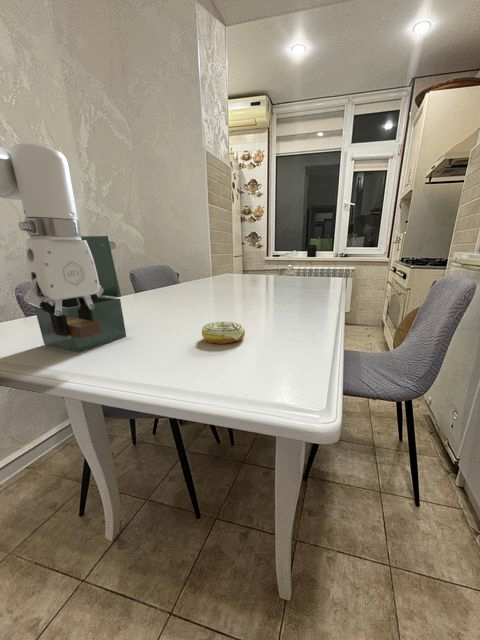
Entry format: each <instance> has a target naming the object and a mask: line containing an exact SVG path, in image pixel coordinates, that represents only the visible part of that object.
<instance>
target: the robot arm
mask: <svg viewBox="0 0 480 640" xmlns="http://www.w3.org/2000/svg"><path fill="white" fill-rule="evenodd" d="M0 198H2V199H7V200H14V201H15V200H17V201H21V205H22V210H23V213H24V221H18V222H17V223H18V224H17V225H18V229H19V230H20V231H23V232H26V233H27V235H28V236H29V238H26V239H25V257H26V258H25V259H26V266H27V273H28V278H29V283H30V285H29V287H28V290H27V291H26V293H25V295H24V298H23V301H24V302H25V303H26V304H29V305H31V306H33V307H34V306H36V307H38V308H40V309H41V310H43V311H45V312H46V313H47V314H50V318H51V322H52V326H53V330H54V331H55V333H56V334H57V335H61V336H65V337H66V336H69V335H70V333H69V328H68V324H67V319H66V316H65V315H62V299H67V298H73V297H76V299H77V301H78V304H79V306H80V308H79V309H78V316H79V319H85V320H89V321H94V320H93V315H92V309H93V308H94V304H95V302H96V301H97V299H98V297H101V296H102V295H101V294H102V293H103V292H104V289H103V288H102V287H101V286H100V284H99V281H98V276H97V271H96V268H95V264H94V260H93V257H92V254H91V251H90V249H89V246H88V244H87V242H86V240H82V239H81V236H82V233H81V229H80V221H79V217H78V213H77V207H76V201H75V195H74V189H73V184H72V178H71V172H70V168H69V163H68V160H67V158H66V156H65V155H64V154H63V152H60V151H59V150H57V149H55V148H52V147H50V146H46V145H42V144H35V143H24V142H23V143H17V144H14V145H12V147H11V148H10V150H9V149H7V148H4V147H1V146H0ZM40 298H45V301H44V300H42V299H40Z"/></svg>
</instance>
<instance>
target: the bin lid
mask: <svg viewBox="0 0 480 640" xmlns="http://www.w3.org/2000/svg"><path fill="white" fill-rule="evenodd" d="M81 239H82V240H86V242H87V244H88V246H89V249H90V251H91V254H92V257H93V260H94V264H95V268H96V271H97V276H98V281H99V284H100V286H101V287H102V288H103V289H104V292H103V293H102V294H101V295H100V296H102V297H112V298H121V297H122V293H121V288H120V285H119V280H118V277H117V271H116V266H115V262H114V259H113V253H112V251H113V250H115V249H116V248H117V243H116V242H115V241H114V240H109V236H108V235H81Z"/></svg>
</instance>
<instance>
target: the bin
mask: <svg viewBox="0 0 480 640" xmlns="http://www.w3.org/2000/svg"><path fill="white" fill-rule="evenodd" d="M122 307H123V306H122V302H121V298H118V297H109V296H99V297H98V299H97V301H96V302H95V304H94V308H93V309H92V315H93V320H94V321H95V322H99V323H100V329H101V333H100V334H96V335H92V336H89V337H85V338H82V339H80V338H76V337H71V336H66V337H65V336H61V335H57V334H56V333H53V332H50V328H49V323H48V321H51V318H50V314H47V313H46V312H45V311H43V310H41V309H40V308H38V307H36V306H34V305H33V308H34V312H35V314H36V319H37V323H38V326H39V330H40V334H41V337H42V341H43V344H44V346H48V347H52V348H58V349H62V350H67V351H70V352H75V353H81V352H83V351H86V350H90V349H92V348H96V347H98V346H101V345H104V344H107V343H111V342H114V341H117V340H119V339H122V338H126V337H127V332H126V326H125V319H124V314H123V308H122ZM79 308H80V306H79V304H78V301H77V299H76V297H73V298H66V299H62V315H65V316H66V317H73V318H78V319H79V316H78V309H79Z"/></svg>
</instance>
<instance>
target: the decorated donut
mask: <svg viewBox="0 0 480 640" xmlns="http://www.w3.org/2000/svg"><path fill="white" fill-rule="evenodd" d="M245 330H246V329H245V326H244V325H243V324H241V323H238V322H233V321H232V322H231V321H214V322H209V323H207V324H204V325H203V326H202V328H201V336H202V338H203V339H204V340H205V341H206V342H208V343H211V344H217V345H221V344H223V345H225V344H231V343H235V342H240V340H243V338H245V335H246V334H245V333H246V331H245Z"/></svg>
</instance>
